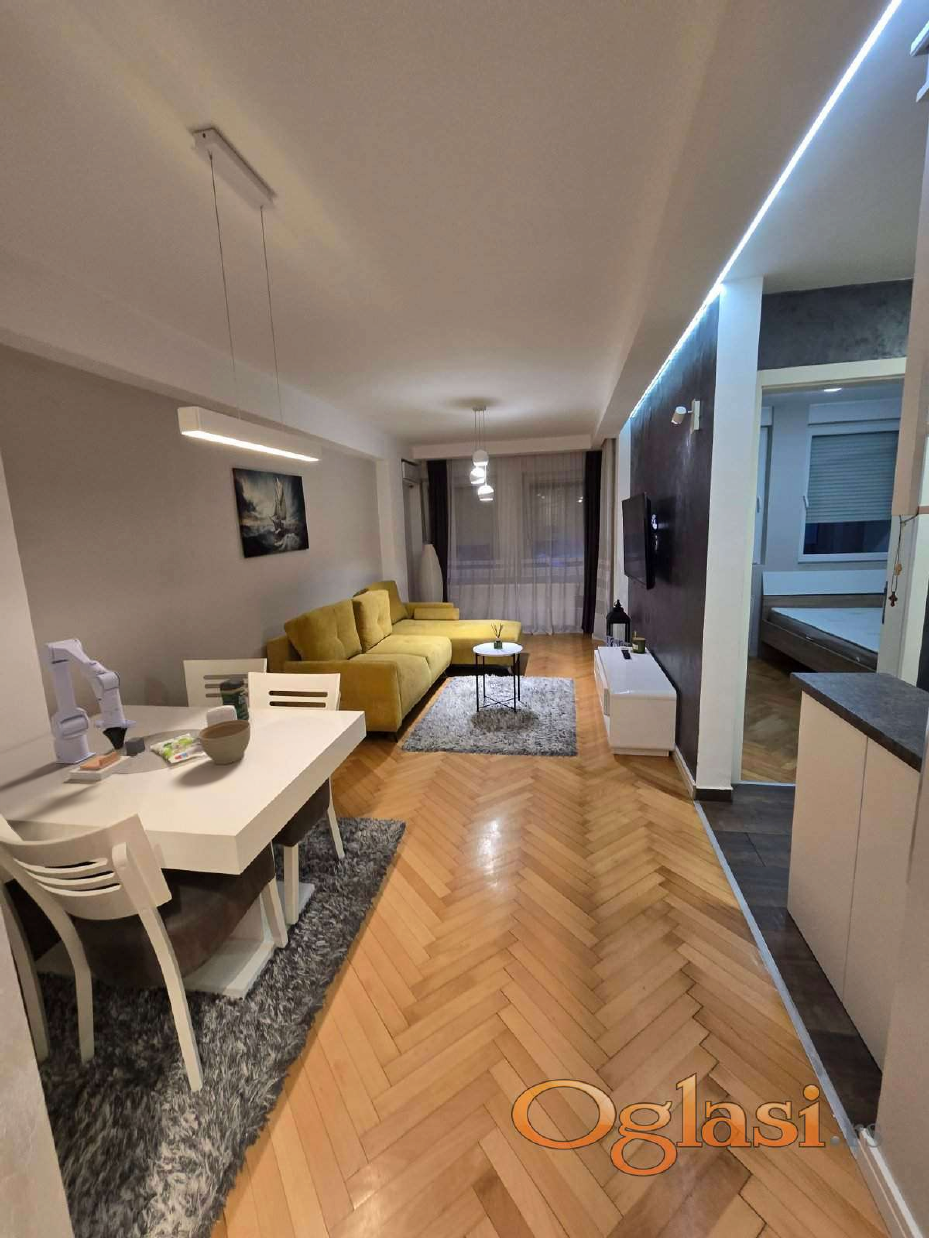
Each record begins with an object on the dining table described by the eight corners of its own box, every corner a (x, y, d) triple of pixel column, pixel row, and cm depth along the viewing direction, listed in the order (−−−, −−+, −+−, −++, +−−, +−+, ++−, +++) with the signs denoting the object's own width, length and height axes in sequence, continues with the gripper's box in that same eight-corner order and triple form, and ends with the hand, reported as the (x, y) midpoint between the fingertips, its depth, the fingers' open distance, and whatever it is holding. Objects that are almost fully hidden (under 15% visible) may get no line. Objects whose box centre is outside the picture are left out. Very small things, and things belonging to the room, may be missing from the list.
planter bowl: (195, 761, 171) (190, 731, 169) (242, 744, 182) (238, 716, 180) (213, 774, 160) (208, 742, 158) (262, 756, 171) (258, 726, 169)
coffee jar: (239, 726, 200) (232, 682, 197) (221, 726, 201) (214, 682, 198) (253, 717, 210) (246, 675, 206) (236, 717, 211) (229, 675, 208)
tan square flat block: (79, 768, 164) (78, 760, 164) (101, 757, 172) (99, 749, 172) (100, 768, 163) (98, 760, 162) (121, 757, 171) (119, 750, 170)
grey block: (127, 754, 180) (124, 741, 179) (136, 750, 184) (133, 737, 183) (136, 755, 179) (134, 742, 178) (145, 750, 183) (143, 737, 182)
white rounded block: (238, 732, 195) (233, 701, 192) (240, 735, 191) (235, 704, 189) (209, 739, 189) (204, 708, 187) (210, 743, 186) (205, 711, 183)
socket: (70, 779, 163) (69, 771, 163) (103, 762, 175) (101, 755, 175) (101, 780, 161) (100, 772, 161) (132, 762, 173) (131, 756, 172)
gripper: (81, 713, 160) (89, 753, 162) (119, 713, 157) (127, 754, 160) (101, 705, 167) (108, 743, 169) (138, 705, 164) (145, 744, 166)
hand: (119, 748), depth 165 cm, fingers closed
